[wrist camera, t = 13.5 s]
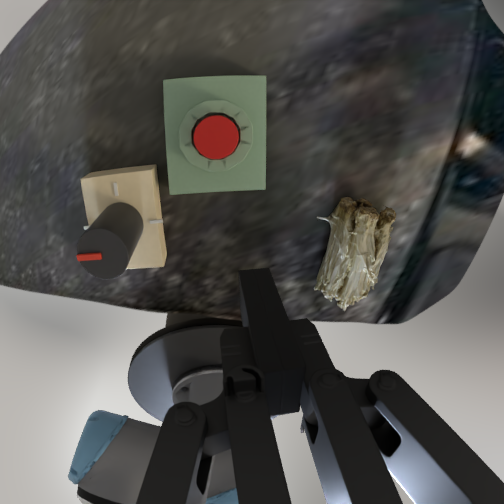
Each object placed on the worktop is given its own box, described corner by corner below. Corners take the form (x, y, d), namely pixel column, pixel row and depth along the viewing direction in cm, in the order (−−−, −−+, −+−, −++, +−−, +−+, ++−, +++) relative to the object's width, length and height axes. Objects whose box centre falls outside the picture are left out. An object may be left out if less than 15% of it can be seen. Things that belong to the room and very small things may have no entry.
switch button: (237, 155, 28) (238, 158, 27) (195, 157, 28) (194, 160, 26) (236, 114, 26) (238, 115, 25) (193, 116, 26) (192, 116, 24)
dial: (140, 199, 29) (122, 227, 23) (146, 243, 32) (132, 280, 25) (96, 204, 29) (69, 232, 22) (105, 246, 31) (83, 282, 25)
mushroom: (320, 189, 35) (338, 204, 30) (388, 197, 36) (410, 212, 31) (301, 293, 41) (312, 317, 36) (362, 291, 42) (377, 314, 38)
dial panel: (171, 254, 36) (169, 267, 33) (102, 258, 35) (94, 271, 32) (162, 163, 31) (157, 169, 28) (85, 173, 30) (74, 180, 27)
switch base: (262, 184, 33) (268, 194, 30) (172, 189, 32) (167, 200, 29) (262, 77, 28) (269, 73, 24) (166, 81, 27) (160, 78, 23)
